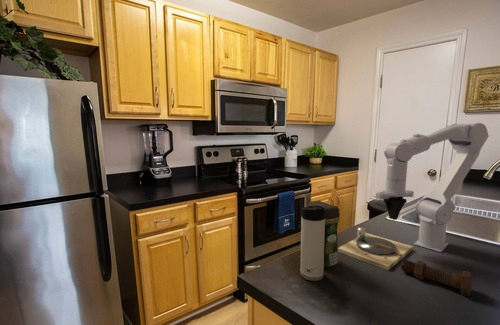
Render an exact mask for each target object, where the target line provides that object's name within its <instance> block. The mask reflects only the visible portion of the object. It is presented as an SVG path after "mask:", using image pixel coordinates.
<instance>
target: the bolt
mask: <svg viewBox="0 0 500 325" xmlns="http://www.w3.org/2000/svg"><path fill="white" fill-rule="evenodd" d="M400 269H401V270H402V271H403V272H406V273H409V274H412V275H413V276H414V277H415V278H416V279H418V280H420V281H422V280H425V279H427V280H432V281H435V282H437V283H440V284H444V285H447V286H451V287H453V288H455V289H458V290H460V295H462V296H466V297H469V296H471V295H470V294H471V293H472V281H473V276H472V275H473V274H471V272H469V271H467V270H466V271H465V270H463V272H462V274H458V273H456V272H455V273H454V272H449V271H446V270H442V269H439V268H435V267H432V266H428V265H427V263H426V262H425V261H423V260H417V261H416V262H413V261H411V260H407V259H406V260H403V261H401V264H400Z"/></svg>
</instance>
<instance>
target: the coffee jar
mask: <svg viewBox="0 0 500 325" xmlns="http://www.w3.org/2000/svg"><path fill="white" fill-rule="evenodd" d="M309 206H323V207H325V234H324V268H331V267H334V266H336V265H337V264H338V263H339V252H338V248H339V247H338V226H339V221H340V214H341V213H340V209H339V207H338V206H336V205H333V204H329V203H327V202H325V201H322V200H313V201H310V202H309V203H308V204H307V207H309Z"/></svg>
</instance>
